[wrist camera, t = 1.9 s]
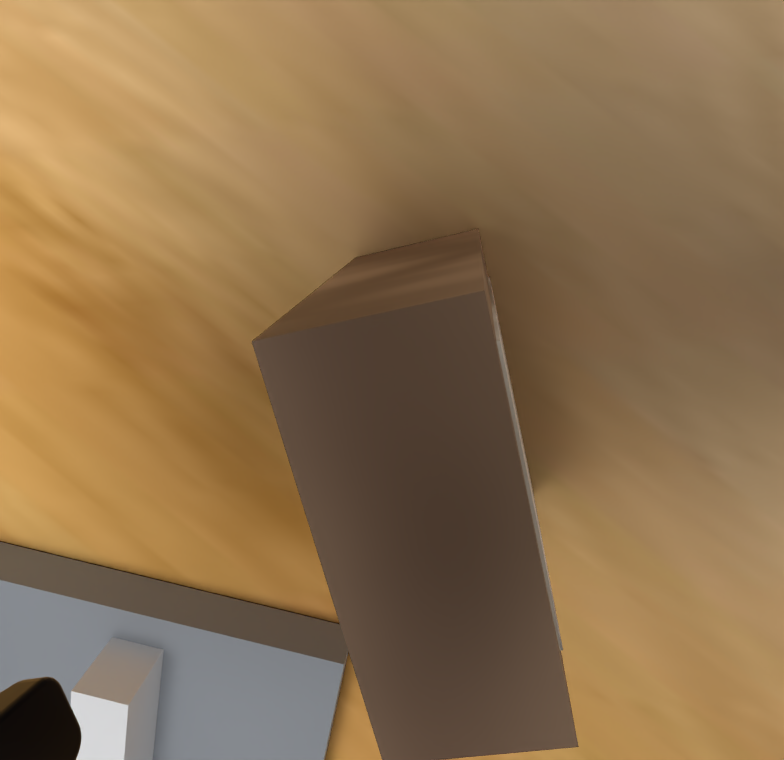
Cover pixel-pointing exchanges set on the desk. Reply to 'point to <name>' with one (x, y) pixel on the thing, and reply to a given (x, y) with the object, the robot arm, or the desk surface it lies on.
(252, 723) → the stand
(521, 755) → the desk surface
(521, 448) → the brown recessed panel block
